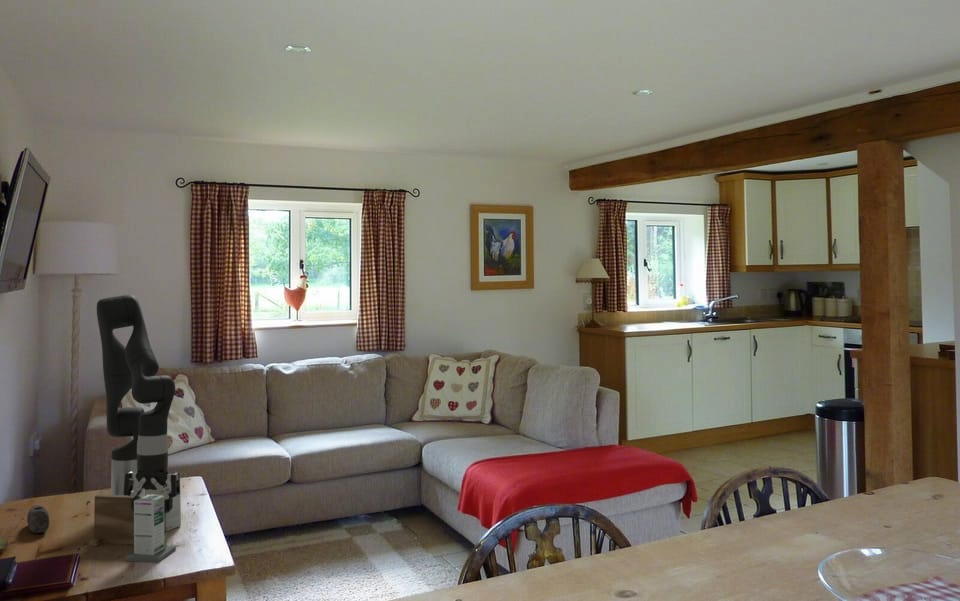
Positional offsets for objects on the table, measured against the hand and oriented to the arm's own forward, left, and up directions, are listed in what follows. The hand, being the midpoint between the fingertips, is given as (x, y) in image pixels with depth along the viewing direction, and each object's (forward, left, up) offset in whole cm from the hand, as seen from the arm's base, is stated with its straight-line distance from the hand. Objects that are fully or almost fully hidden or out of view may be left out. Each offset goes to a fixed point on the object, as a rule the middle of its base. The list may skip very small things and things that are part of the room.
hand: (151, 511), depth 188 cm
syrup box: (0, 0, -11) cm, 11 cm away
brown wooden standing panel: (-8, -11, -12) cm, 18 cm away
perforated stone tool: (-17, -44, -12) cm, 49 cm away
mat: (0, 0, -12) cm, 12 cm away
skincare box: (-22, -8, -12) cm, 26 cm away
